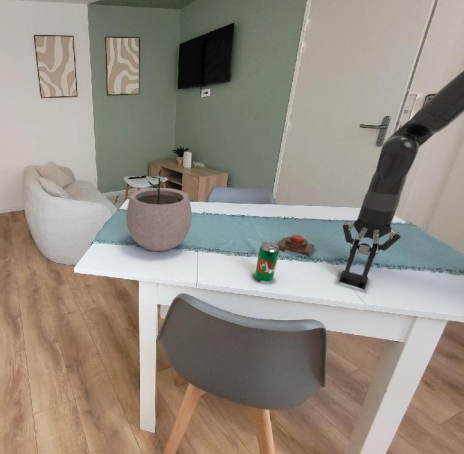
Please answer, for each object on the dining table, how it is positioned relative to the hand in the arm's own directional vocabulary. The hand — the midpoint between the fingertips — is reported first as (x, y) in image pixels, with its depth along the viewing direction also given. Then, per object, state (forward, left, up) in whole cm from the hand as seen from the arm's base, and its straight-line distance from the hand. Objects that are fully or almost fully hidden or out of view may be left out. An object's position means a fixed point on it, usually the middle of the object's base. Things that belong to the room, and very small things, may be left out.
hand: (361, 257), depth 91 cm
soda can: (+20, +25, -4) cm, 33 cm away
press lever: (0, +6, +3) cm, 7 cm away
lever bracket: (0, +10, -4) cm, 11 cm away
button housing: (+18, -2, -4) cm, 19 cm away
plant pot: (+58, +27, -4) cm, 64 cm away
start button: (+18, -2, -1) cm, 18 cm away
